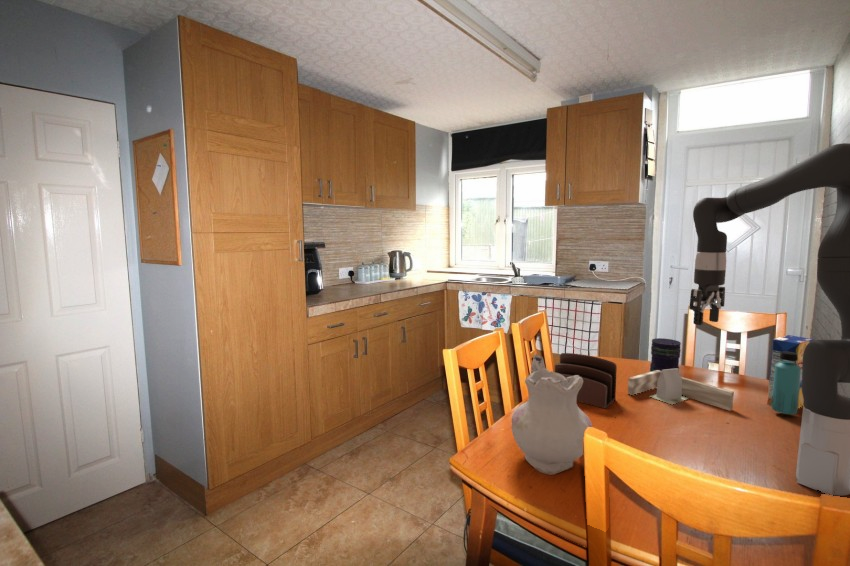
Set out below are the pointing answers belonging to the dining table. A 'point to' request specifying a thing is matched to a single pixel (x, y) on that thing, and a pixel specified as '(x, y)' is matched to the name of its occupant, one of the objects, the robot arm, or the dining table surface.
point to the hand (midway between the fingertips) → (705, 323)
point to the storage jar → (664, 354)
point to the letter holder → (590, 377)
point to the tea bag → (669, 384)
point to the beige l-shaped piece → (684, 390)
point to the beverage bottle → (786, 384)
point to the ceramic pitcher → (550, 420)
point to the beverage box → (790, 345)
